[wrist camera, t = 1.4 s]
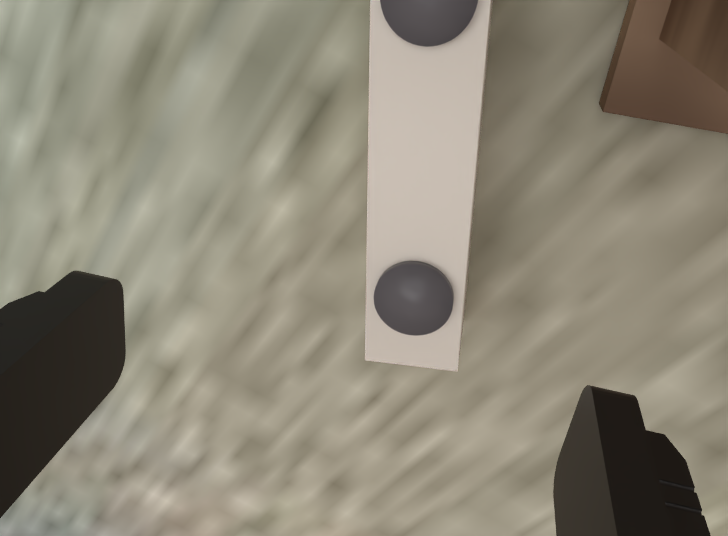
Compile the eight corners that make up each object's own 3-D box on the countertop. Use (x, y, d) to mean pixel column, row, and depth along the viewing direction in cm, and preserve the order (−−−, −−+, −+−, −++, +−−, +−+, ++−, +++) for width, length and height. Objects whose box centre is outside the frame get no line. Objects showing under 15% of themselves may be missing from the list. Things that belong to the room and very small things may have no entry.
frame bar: (394, -118, 22) (369, -127, 18) (503, -118, 21) (501, -127, 18) (382, 308, 29) (362, 366, 25) (464, 317, 29) (456, 377, 25)
